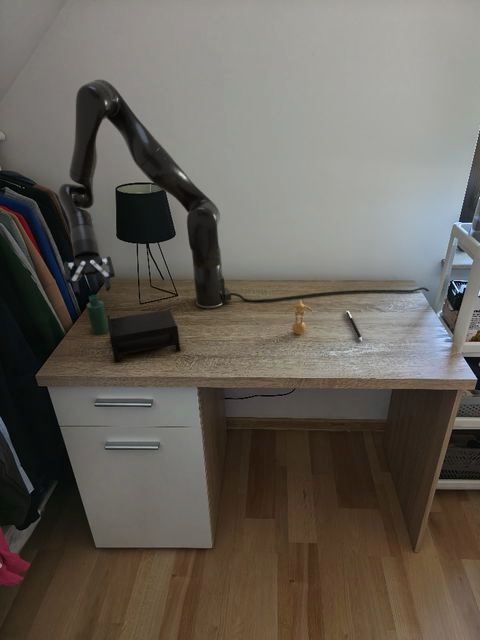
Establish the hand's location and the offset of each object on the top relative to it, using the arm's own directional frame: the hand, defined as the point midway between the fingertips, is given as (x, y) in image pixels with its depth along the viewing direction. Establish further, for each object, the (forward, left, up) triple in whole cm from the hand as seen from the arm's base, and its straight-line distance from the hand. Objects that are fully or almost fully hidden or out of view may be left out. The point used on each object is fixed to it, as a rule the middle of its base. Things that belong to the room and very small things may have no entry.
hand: (93, 292), depth 146 cm
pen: (-74, +28, -10) cm, 80 cm away
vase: (0, +5, -11) cm, 12 cm away
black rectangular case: (-12, +19, -11) cm, 25 cm away
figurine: (-56, +28, -11) cm, 64 cm away
